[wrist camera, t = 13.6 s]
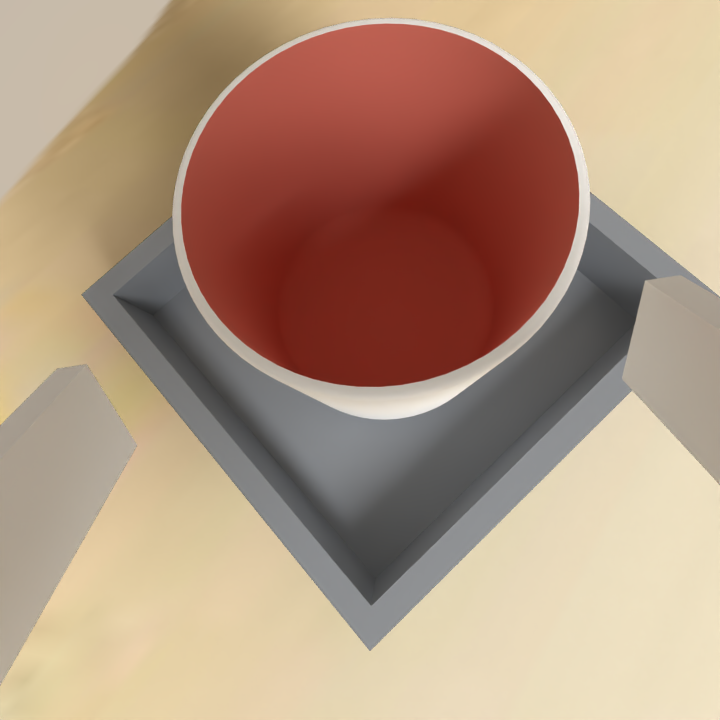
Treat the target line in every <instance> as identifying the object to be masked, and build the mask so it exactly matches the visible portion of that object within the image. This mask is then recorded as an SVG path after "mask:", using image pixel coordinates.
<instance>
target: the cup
mask: <svg viewBox="0 0 720 720" xmlns="http://www.w3.org/2000/svg"><path fill="white" fill-rule="evenodd" d="M589 216H590V185H589V178H588V172H587V166H586V162H585V158H584V154H583V150H582V147H581V144H580V142H579V139H578V136H577V134H576V131H575V129H574V127H573V125H572V123H571V121H570V119H569V117H568V116H567V114H566V112H565V110H564V109H563V107H562V105H561V104H560V103H559V101H558V100H557V99H556V97H555V96H554V94H553V93H552V92H551V91H550V89H549V88H548V87H547V86H546V85H545V84H544V83H543V81H542V80H541V79H540V78H539V77H538V76H537V75H536V74H535V73H534V72H532V71H531V70H530V69H529V68H528V67H527V66H526V65H524V64H523V63H522V62H521V61H520V60H518V59H517V58H516V57H514V56H512V55H511V54H509V53H508V52H506V51H504V50H503V49H501V48H500V47H498V46H496V45H495V44H493V43H492V42H490V41H487V40H485V39H483V38H481V37H479V36H477V35H475V34H472V33H469V32H467V31H464V30H461V29H458V28H455V27H452V26H448V25H444V24H440V23H436V22H430V21H423V20H417V19H404V18H377V19H364V20H358V21H351V22H345V23H341V24H337V25H333V26H329V27H325V28H322V29H319V30H316V31H313V32H310V33H307V34H305V35H302V36H300V37H298V38H296V39H294V40H291V41H289V42H287V43H285V44H283V45H281V46H280V47H278V48H276V49H274V50H273V51H271V52H269V53H268V54H266V55H264V56H263V57H262V58H260V59H259V60H257V61H256V62H255V63H253V64H252V65H250V66H249V67H248V68H247V69H246V70H244V71H243V72H242V73H241V74H240V75H239V76H237V77H236V78H235V79H234V80H233V81H232V82H231V83H230V84H229V85H228V86H227V87H226V88H225V89H224V90H223V91H222V93H221V94H220V95H219V96H218V97H217V99H216V100H215V101H214V102H213V104H212V105H211V106H210V107H209V109H208V110H207V112H206V113H205V115H204V116H203V118H202V119H201V121H200V123H199V124H198V126H197V128H196V130H195V131H194V133H193V135H192V137H191V139H190V141H189V144H188V146H187V148H186V151H185V153H184V156H183V159H182V162H181V165H180V168H179V172H178V176H177V180H176V185H175V191H174V198H173V213H172V220H173V237H174V245H175V251H176V255H177V260H178V264H179V267H180V270H181V273H182V276H183V279H184V282H185V284H186V286H187V289H188V291H189V293H190V295H191V297H192V299H193V301H194V303H195V304H196V306H197V308H198V310H199V311H200V313H201V314H202V316H203V317H204V319H205V320H206V322H207V323H208V324H209V326H210V327H211V328H212V329H213V331H214V332H215V333H216V334H217V335H218V336H219V337H220V338H221V340H222V341H223V342H224V343H225V344H226V345H227V346H228V347H230V348H231V349H232V350H233V351H234V352H235V353H236V354H238V355H239V356H240V357H241V358H242V359H244V360H245V361H247V362H248V363H249V364H251V365H252V366H254V367H255V368H256V369H258V370H260V371H261V372H263V373H265V374H267V375H268V376H270V377H272V378H274V379H276V380H278V381H280V382H282V383H284V384H286V385H288V386H290V387H292V388H294V389H296V390H298V391H300V392H302V393H304V394H306V395H308V396H310V397H312V398H314V399H316V400H318V401H320V402H322V403H324V404H326V405H328V406H330V407H332V408H334V409H336V410H339V411H341V412H344V413H347V414H350V415H353V416H357V417H362V418H368V419H381V420H389V419H401V418H406V417H411V416H415V415H419V414H422V413H425V412H428V411H430V410H432V409H435V408H437V407H439V406H441V405H443V404H444V403H446V402H448V401H449V400H451V399H452V398H454V397H455V396H457V395H458V394H459V393H461V392H462V391H463V390H465V389H466V388H467V387H469V386H470V385H471V384H473V383H474V382H475V381H477V380H478V379H479V378H481V377H482V376H483V375H485V374H486V373H488V372H489V371H490V370H492V369H493V368H494V367H496V366H497V365H498V364H500V363H501V362H502V361H504V360H505V359H506V358H508V357H509V356H510V355H512V354H513V353H514V352H515V351H516V350H518V349H519V348H520V347H521V346H522V345H524V344H525V343H526V342H527V341H528V340H529V339H530V338H531V337H532V336H533V335H534V334H535V333H536V332H537V331H538V330H539V329H540V328H541V327H542V325H543V324H544V323H545V322H546V320H547V319H548V318H549V316H550V315H551V314H552V313H553V311H554V310H555V309H556V307H557V305H558V304H559V302H560V301H561V299H562V298H563V296H564V295H565V293H566V291H567V289H568V287H569V285H570V283H571V281H572V279H573V277H574V275H575V273H576V270H577V267H578V265H579V262H580V259H581V256H582V253H583V249H584V245H585V241H586V238H587V231H588V225H589Z"/></svg>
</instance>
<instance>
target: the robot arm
mask: <svg viewBox="0 0 720 720" xmlns="http://www.w3.org/2000/svg"><path fill="white" fill-rule="evenodd" d="M622 380H623V381H624V382H625V383H626V384H627V385H628V386H629V387H630V388H631V389H632V391H633V392H634V393H635V394H636V395H637V396H638V397H639V398H640V399H641V400H642V401H643V402H644V403H645V405H646V406H647V407H648V408H649V409H650V410H651V411H652V412H653V413H654V414H655V415H656V416H657V418H658V419H659V420H660V421H661V422H662V423H663V424H664V425H665V426H666V427H667V428H668V429H669V430H670V432H671V433H672V434H673V435H674V436H675V437H676V438H677V439H678V440H679V441H680V442H681V443H682V445H683V446H684V447H685V448H686V449H687V450H688V451H689V452H690V453H691V454H692V455H693V456H694V457H695V459H696V460H697V461H698V462H699V463H700V464H701V465H702V466H703V467H704V468H705V469H706V470H707V472H708V473H709V474H710V475H711V476H712V477H713V478H714V479H715V480H716V481H717V482H718V483H719V484H720V298H719V297H717V296H716V295H714V294H712V293H710V292H709V291H707V290H705V289H704V288H702V287H700V286H698V285H697V284H695V283H693V282H691V281H690V280H688V279H686V278H685V277H683V276H681V275H678V276H672V277H665V278H658V279H652V280H645V283H644V287H643V291H642V296H641V300H640V304H639V308H638V312H637V317H636V321H635V325H634V329H633V334H632V338H631V342H630V346H629V350H628V355H627V359H626V363H625V367H624V372H623V376H622ZM136 447H137V444H136V442H135V441H134V439H133V438H132V436H131V434H130V433H129V431H128V430H127V428H126V426H125V425H124V423H123V422H122V420H121V418H120V417H119V415H118V414H117V412H116V410H115V409H114V407H113V405H112V404H111V402H110V401H109V399H108V397H107V396H106V394H105V393H104V391H103V389H102V388H101V386H100V385H99V383H98V381H97V380H96V378H95V377H94V375H93V373H92V372H91V370H90V369H89V367H88V365H87V364H85V365H78V366H72V367H65V368H58V369H56V370H55V371H54V372H53V373H52V374H51V375H50V376H49V377H48V378H47V379H46V380H45V381H44V382H43V383H42V384H41V385H40V386H39V387H38V388H37V389H36V390H35V391H34V392H33V393H32V394H31V395H30V396H29V397H28V398H27V399H26V400H25V401H24V402H23V403H22V404H21V405H20V406H19V407H18V408H17V409H16V410H15V411H14V412H13V413H12V414H11V415H10V416H9V417H8V418H7V419H6V420H5V421H4V422H3V423H2V424H1V425H0V685H1V683H2V682H3V680H4V678H5V676H6V675H7V673H8V671H9V669H10V668H11V666H12V664H13V662H14V661H15V659H16V657H17V655H18V654H19V652H20V650H21V648H22V647H23V645H24V643H25V641H26V640H27V638H28V636H29V634H30V633H31V631H32V629H33V627H34V626H35V624H36V622H37V620H38V619H39V617H40V615H41V613H42V612H43V610H44V608H45V606H46V605H47V603H48V601H49V599H50V597H51V596H52V594H53V592H54V590H55V589H56V587H57V585H58V583H59V582H60V580H61V578H62V576H63V575H64V573H65V571H66V569H67V568H68V566H69V564H70V562H71V561H72V559H73V557H74V555H75V554H76V552H77V550H78V548H79V547H80V545H81V543H82V541H83V540H84V538H85V536H86V534H87V533H88V531H89V529H90V527H91V526H92V524H93V522H94V520H95V519H96V517H97V515H98V513H99V512H100V510H101V508H102V506H103V504H104V503H105V501H106V499H107V497H108V496H109V494H110V492H111V490H112V489H113V487H114V485H115V483H116V482H117V480H118V478H119V476H120V475H121V473H122V471H123V469H124V468H125V466H126V464H127V462H128V461H129V459H130V457H131V455H132V454H133V452H134V450H135V448H136Z"/></svg>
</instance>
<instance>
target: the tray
mask: <svg viewBox="0 0 720 720" xmlns="http://www.w3.org/2000/svg"><path fill="white" fill-rule="evenodd" d="M678 275H681V276H683V277H685V278H686V279H688V280H690V281H691V282H693V283H695V284H697V285H698V286H700V287H702V288H704V289H705V290H707V291H709V292H710V293H712V294H714V295H716V296H717V297H719V296H718V295H717V294H716V293H715V292H713V291H712V290H711V289H710V288H708V287H707V286H706V285H705V284H703V283H702V282H701V281H700V280H698V279H697V278H696V277H695V276H693V275H692V274H691V273H690V272H689V271H687V270H686V269H685V268H684V267H682V266H681V265H680V264H679V263H677V262H676V261H675V260H674V259H672V258H671V257H670V256H669V255H667V254H666V253H665V252H664V251H663V250H661V249H660V248H659V247H658V246H656V245H655V244H654V243H653V242H651V241H650V240H649V239H648V238H646V237H645V236H644V235H643V234H641V233H640V232H639V231H638V230H637V229H635V228H634V227H633V226H632V225H630V224H629V223H628V222H627V221H625V220H624V219H623V218H622V217H620V216H619V215H618V214H617V213H616V212H614V211H613V210H612V209H611V208H609V207H608V206H607V205H606V204H604V203H603V202H602V201H601V200H599V199H598V198H597V197H596V196H594V195H593V194H592V193H591V192H590V216H589V225H588V231H587V238H586V241H585V245H584V249H583V253H582V256H581V259H580V262H579V265H578V267H577V270H576V273H575V275H574V277H573V279H572V281H571V283H570V285H569V287H568V289H567V291H566V293H565V295H564V296H563V298H562V299H561V301H560V302H559V304H558V305H557V307H556V309H555V310H554V311H553V313H552V314H551V315H550V316H549V318H548V319H547V320H546V322H545V323H544V324H543V325H542V327H541V328H540V329H539V330H538V331H537V332H536V333H535V334H534V335H533V336H532V337H531V338H530V339H529V340H528V341H527V342H526V343H525V344H524V345H522V346H521V347H520V348H519V349H518V350H516V351H515V352H514V353H513V354H512V355H510V356H509V357H508V358H506V359H505V360H504V361H502V362H501V363H500V364H498V365H497V366H496V367H494V368H493V369H492V370H490V371H489V372H488V373H486V374H485V375H483V376H482V377H481V378H479V379H478V380H477V381H475V382H474V383H473V384H471V385H470V386H469V387H467V388H466V389H465V390H463V391H462V392H461V393H459V394H458V395H457V396H455V397H454V398H452V399H451V400H449V401H448V402H446V403H444V404H443V405H441V406H439V407H437V408H435V409H432V410H430V411H428V412H425V413H422V414H419V415H415V416H411V417H406V418H401V419H389V420H381V419H368V418H362V417H357V416H353V415H350V414H347V413H344V412H341V411H339V410H336V409H334V408H332V407H330V406H328V405H326V404H324V403H322V402H320V401H318V400H316V399H314V398H312V397H310V396H308V395H306V394H304V393H302V392H300V391H298V390H296V389H294V388H292V387H290V386H288V385H286V384H284V383H282V382H280V381H278V380H276V379H274V378H272V377H270V376H268V375H267V374H265V373H263V372H261V371H260V370H258V369H256V368H255V367H254V366H252V365H251V364H249V363H248V362H247V361H245V360H244V359H242V358H241V357H240V356H239V355H238V354H236V353H235V352H234V351H233V350H232V349H231V348H230V347H228V346H227V345H226V344H225V343H224V342H223V341H222V340H221V338H220V337H219V336H218V335H217V334H216V333H215V332H214V331H213V329H212V328H211V327H210V326H209V324H208V323H207V322H206V320H205V319H204V317H203V316H202V314H201V313H200V311H199V310H198V308H197V306H196V304H195V303H194V301H193V299H192V297H191V295H190V293H189V291H188V289H187V286H186V284H185V282H184V279H183V276H182V273H181V270H180V267H179V264H178V260H177V255H176V251H175V245H174V237H173V220H172V217H171V218H169V219H168V220H167V221H166V222H165V223H164V224H162V225H161V226H160V227H159V228H158V229H157V230H156V231H154V232H153V233H152V234H151V235H150V236H149V237H147V238H146V239H145V240H144V241H143V242H142V243H141V244H139V245H138V246H137V247H136V248H135V249H134V250H132V251H131V252H130V253H129V254H128V255H127V256H125V257H124V258H123V259H122V260H121V261H120V262H119V263H117V264H116V265H115V266H114V267H113V268H112V269H110V270H109V271H108V272H107V273H106V274H105V275H104V276H102V277H101V278H100V279H99V280H98V281H97V282H95V283H94V284H93V285H92V286H91V287H90V288H88V289H87V290H86V291H85V292H84V293H83V294H82V296H83V297H84V299H85V300H86V301H87V302H88V303H89V305H90V306H91V307H92V308H93V310H94V311H95V312H96V313H97V315H98V316H99V317H100V318H101V320H102V321H103V322H104V323H105V324H106V326H107V327H108V328H109V329H110V331H111V332H112V333H113V334H114V336H115V337H116V338H117V339H118V341H119V342H120V343H121V344H122V345H123V347H124V348H125V349H126V350H127V352H128V353H129V354H130V355H131V357H132V358H133V359H134V360H135V362H136V363H137V364H138V365H139V366H140V368H141V369H142V370H143V371H144V373H145V374H146V375H147V376H148V378H149V379H150V380H151V381H152V383H153V384H154V385H155V386H156V387H157V389H158V390H159V391H160V392H161V394H162V395H163V396H164V397H165V399H166V400H167V401H168V402H169V404H170V405H171V406H172V407H173V408H174V410H175V411H176V412H177V413H178V415H179V416H180V417H181V418H182V420H183V421H184V422H185V423H186V425H187V426H188V427H189V428H190V429H191V431H192V432H193V433H194V434H195V436H196V437H197V438H198V439H199V441H200V442H201V443H202V444H203V445H204V447H205V448H206V449H207V450H208V452H209V453H210V454H211V455H212V457H213V458H214V459H215V460H216V462H217V463H218V464H219V465H220V466H221V468H222V469H223V470H224V471H225V473H226V474H227V475H228V476H229V478H230V479H231V480H232V481H233V483H234V484H235V485H236V486H237V487H238V489H239V490H240V491H241V492H242V494H243V495H244V496H245V497H246V499H247V500H248V501H249V502H250V504H251V505H252V506H253V507H254V508H255V510H256V511H257V512H258V513H259V515H260V516H261V517H262V518H263V520H264V521H265V522H266V523H267V525H268V526H269V527H270V528H271V529H272V531H273V532H274V533H275V534H276V536H277V537H278V538H279V539H280V541H281V542H282V543H283V544H284V546H285V547H286V548H287V549H288V550H289V552H290V553H291V554H292V555H293V557H294V558H295V559H296V560H297V562H298V563H299V564H300V565H301V567H302V568H303V569H304V570H305V571H306V573H307V574H308V575H309V576H310V578H311V579H312V580H313V581H314V583H315V584H316V585H317V586H318V588H319V589H320V590H321V591H322V592H323V594H324V595H325V596H326V597H327V599H328V600H329V601H330V602H331V604H332V605H333V606H334V607H335V609H336V610H337V611H338V612H339V613H340V615H341V616H342V617H343V618H344V620H345V621H346V622H347V623H348V625H349V626H350V627H351V628H352V630H353V631H354V632H355V633H356V634H357V636H358V637H359V638H360V639H361V641H362V642H363V643H364V644H365V646H366V647H367V648H368V649H369V651H370V650H371V649H372V648H373V647H375V646H376V645H377V644H378V643H379V642H380V641H381V640H382V639H383V638H384V637H385V636H386V635H387V634H388V633H389V632H390V631H391V630H392V629H393V628H394V627H395V626H396V625H397V624H398V623H399V622H400V621H401V620H402V619H403V618H404V617H405V616H406V615H407V614H408V613H409V612H410V611H411V610H412V609H413V608H414V607H415V606H416V605H417V604H418V603H419V602H420V601H421V600H422V599H423V598H424V597H425V596H426V595H427V594H428V593H429V592H430V591H431V590H432V589H433V588H434V587H435V586H436V585H437V584H438V583H439V582H440V581H441V580H442V579H443V578H444V577H445V576H446V575H447V574H448V573H449V572H450V571H451V570H452V569H453V568H454V567H455V566H456V565H457V564H458V563H459V562H460V561H461V560H462V559H463V558H464V557H465V556H466V555H467V554H468V553H469V552H470V551H471V550H472V549H473V548H474V547H475V546H476V545H477V544H478V543H479V542H480V541H481V540H482V539H483V538H484V537H485V536H486V535H487V534H488V533H489V532H490V531H491V530H492V529H493V528H494V527H495V526H496V525H497V524H498V523H499V522H500V521H501V520H502V519H503V518H504V517H505V516H506V515H507V514H508V513H509V512H510V511H511V510H512V509H513V508H514V507H515V506H516V505H517V504H518V503H519V502H520V501H521V500H522V499H523V498H524V497H525V496H526V495H527V494H528V493H529V492H530V491H531V490H532V489H533V488H534V487H535V486H536V485H537V484H538V483H539V482H540V481H541V480H542V479H543V478H544V477H545V476H546V475H547V474H548V473H549V472H550V471H551V470H552V469H553V468H554V467H555V466H556V465H557V464H558V463H559V462H560V461H561V460H562V459H563V458H564V457H565V456H566V455H567V454H568V453H569V452H570V451H571V450H572V449H573V448H574V447H575V446H576V445H578V444H579V443H580V442H581V441H582V440H583V439H584V438H585V437H586V436H587V435H588V434H589V433H590V432H591V431H592V430H593V429H594V428H595V427H596V426H597V425H598V424H599V423H600V422H601V421H602V420H603V419H604V418H605V417H606V416H607V415H608V414H609V413H610V412H611V411H612V410H613V409H614V408H615V407H616V406H617V405H618V404H619V403H620V402H621V401H622V400H623V399H624V398H625V397H626V396H627V395H628V394H629V393H630V392H631V391H632V389H631V388H630V387H629V386H628V385H627V384H626V383H625V382H624V381H623V380H622V376H623V372H624V367H625V363H626V359H627V355H628V350H629V346H630V342H631V338H632V334H633V329H634V325H635V321H636V317H637V312H638V308H639V304H640V300H641V296H642V291H643V287H644V283H645V280H652V279H658V278H665V277H672V276H678ZM719 298H720V297H719Z"/></svg>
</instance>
